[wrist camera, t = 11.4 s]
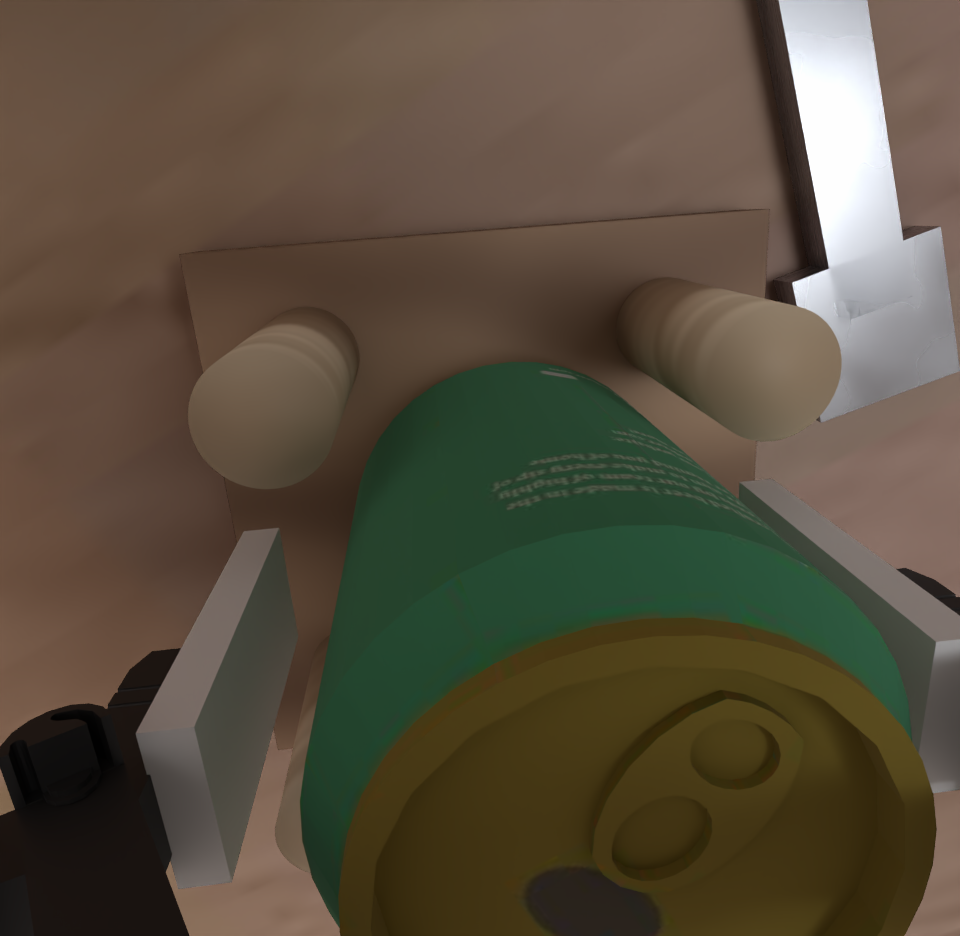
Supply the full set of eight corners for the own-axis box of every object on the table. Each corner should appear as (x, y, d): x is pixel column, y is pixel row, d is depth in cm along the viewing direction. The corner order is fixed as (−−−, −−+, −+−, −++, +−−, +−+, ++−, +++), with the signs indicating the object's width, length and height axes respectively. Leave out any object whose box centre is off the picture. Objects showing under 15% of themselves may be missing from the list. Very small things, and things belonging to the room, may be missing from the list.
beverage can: (303, 549, 19) (152, 1013, 8) (465, 290, 18) (560, 427, 6) (546, 676, 21) (696, 1191, 10) (716, 456, 20) (1128, 784, 8)
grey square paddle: (672, -172, 16) (692, -201, 15) (841, -239, 16) (874, -274, 15) (799, 411, 21) (821, 422, 20) (930, 362, 21) (959, 371, 20)
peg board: (197, 251, 18) (61, 273, 11) (743, 209, 19) (938, 206, 12) (286, 716, 23) (229, 941, 16) (722, 666, 24) (854, 858, 17)
